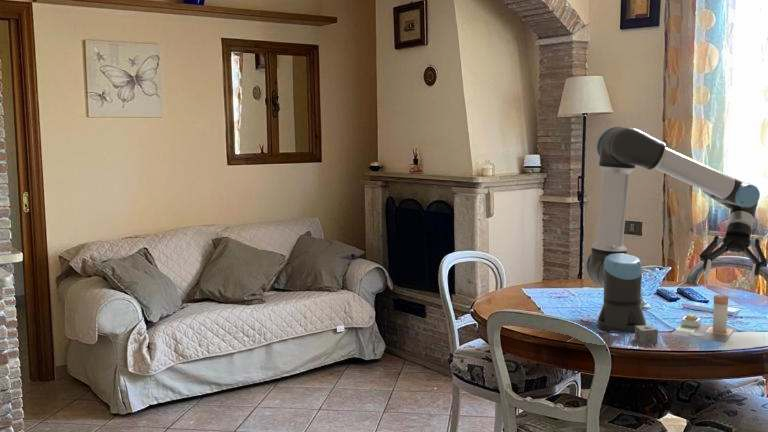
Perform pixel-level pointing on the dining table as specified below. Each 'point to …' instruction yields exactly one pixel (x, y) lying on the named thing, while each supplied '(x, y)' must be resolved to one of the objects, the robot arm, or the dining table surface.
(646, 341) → the grey smiley picture cube
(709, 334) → the grey flat square panel
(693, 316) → the button
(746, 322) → the dining table surface
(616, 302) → the robot arm
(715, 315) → the ball
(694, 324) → the button housing
